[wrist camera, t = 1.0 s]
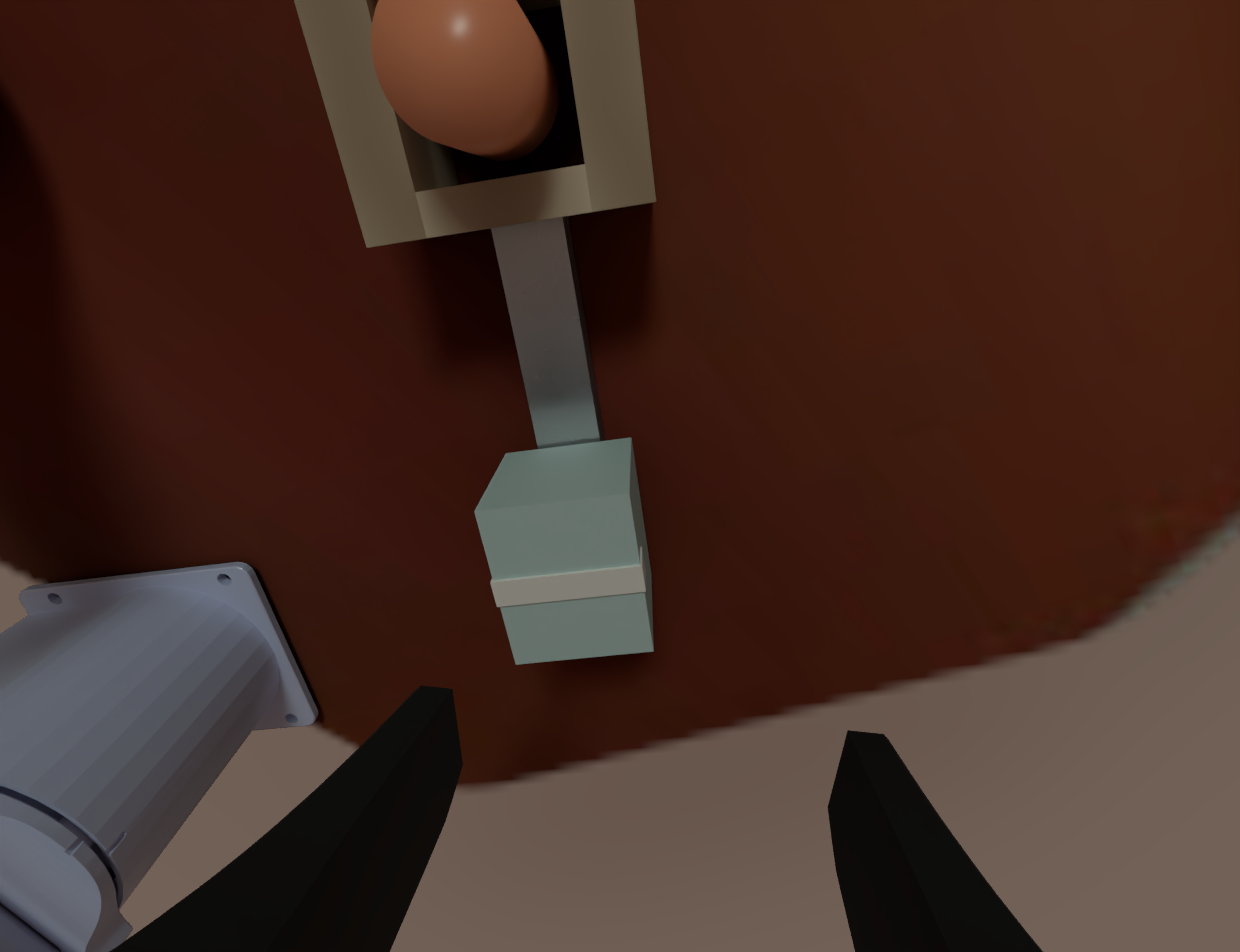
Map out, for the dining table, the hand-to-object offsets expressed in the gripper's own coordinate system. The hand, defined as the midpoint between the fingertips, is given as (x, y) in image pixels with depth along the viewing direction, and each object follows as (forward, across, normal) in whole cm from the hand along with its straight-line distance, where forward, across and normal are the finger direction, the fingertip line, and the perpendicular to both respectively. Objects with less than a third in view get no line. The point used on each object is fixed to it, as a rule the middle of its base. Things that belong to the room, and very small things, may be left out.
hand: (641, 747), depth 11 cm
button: (+9, +5, -11) cm, 15 cm away
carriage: (+9, +3, +1) cm, 10 cm away
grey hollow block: (+11, +5, -11) cm, 17 cm away
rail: (+11, +3, -2) cm, 12 cm away
